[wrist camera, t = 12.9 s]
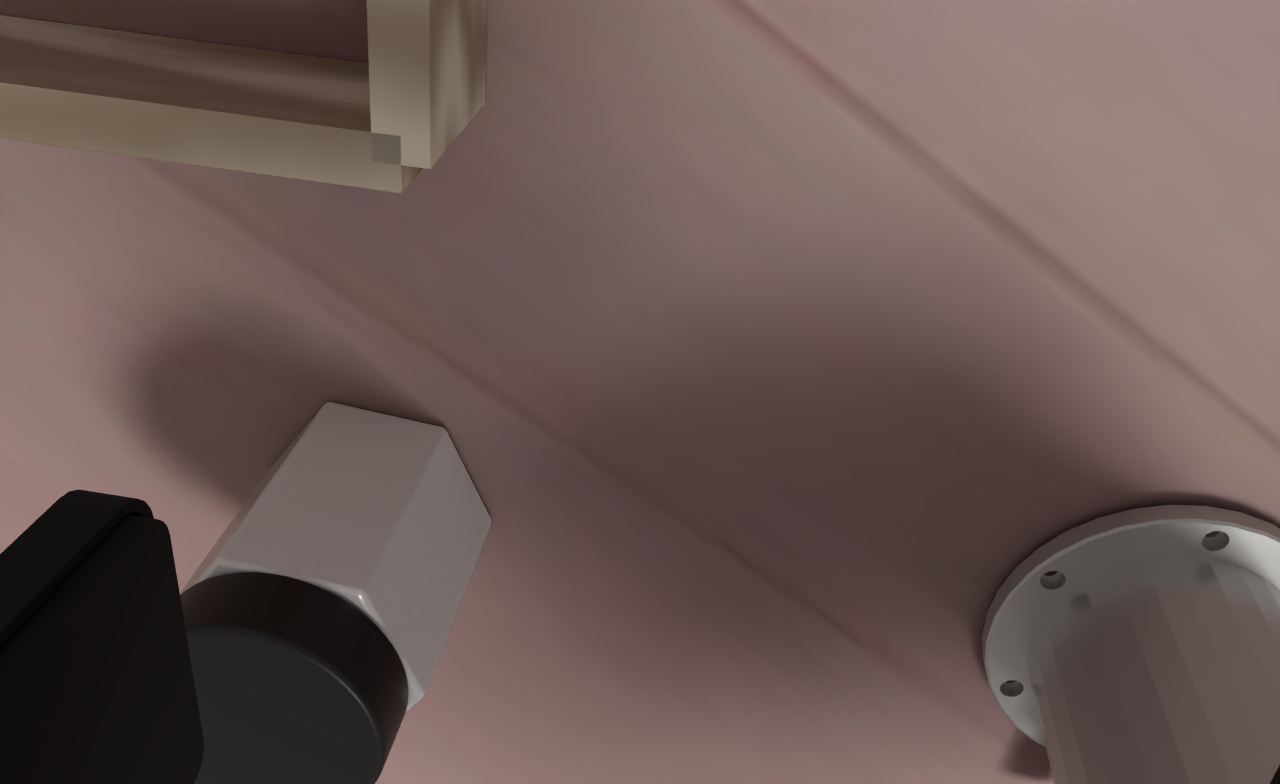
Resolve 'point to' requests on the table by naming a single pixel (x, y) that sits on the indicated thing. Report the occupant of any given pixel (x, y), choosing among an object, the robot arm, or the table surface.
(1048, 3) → the table surface
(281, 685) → the jar
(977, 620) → the table surface
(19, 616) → the robot arm
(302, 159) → the corner wall
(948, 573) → the table surface
